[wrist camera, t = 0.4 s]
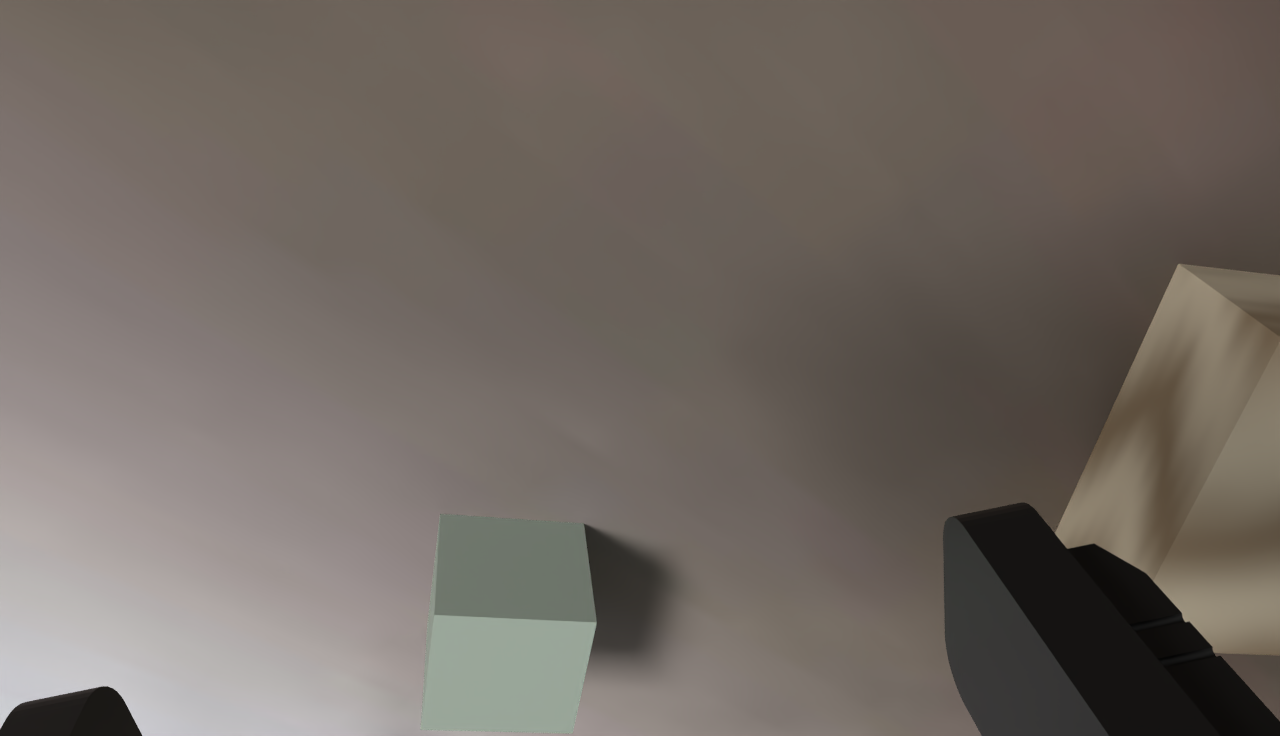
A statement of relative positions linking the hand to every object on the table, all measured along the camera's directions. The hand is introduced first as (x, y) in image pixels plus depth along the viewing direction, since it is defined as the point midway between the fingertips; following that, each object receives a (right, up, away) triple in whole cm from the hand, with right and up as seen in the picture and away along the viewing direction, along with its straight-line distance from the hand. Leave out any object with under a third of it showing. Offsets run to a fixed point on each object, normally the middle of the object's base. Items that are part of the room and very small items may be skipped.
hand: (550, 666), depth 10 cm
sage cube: (-4, -4, +24) cm, 24 cm away
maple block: (+21, +1, +25) cm, 33 cm away
